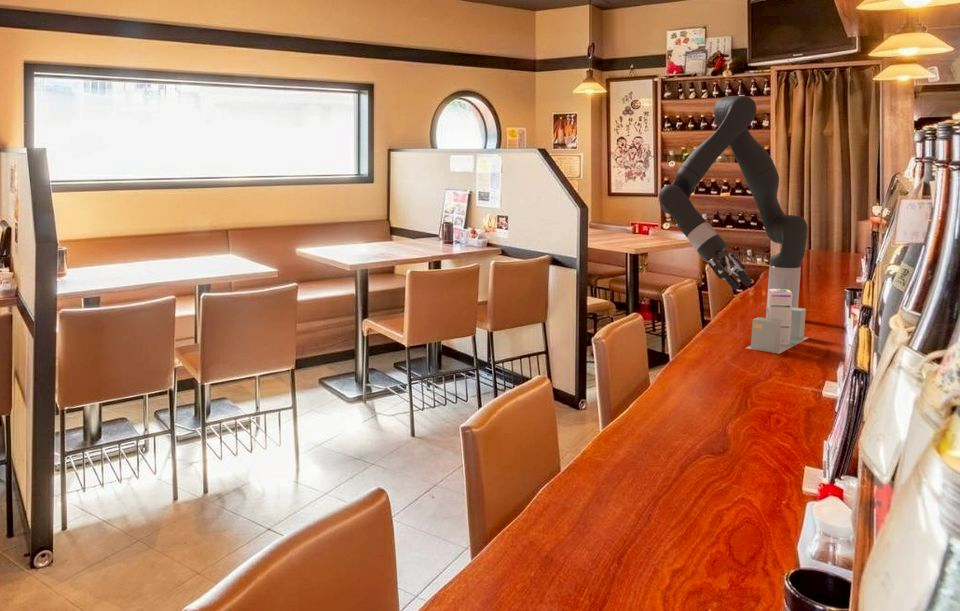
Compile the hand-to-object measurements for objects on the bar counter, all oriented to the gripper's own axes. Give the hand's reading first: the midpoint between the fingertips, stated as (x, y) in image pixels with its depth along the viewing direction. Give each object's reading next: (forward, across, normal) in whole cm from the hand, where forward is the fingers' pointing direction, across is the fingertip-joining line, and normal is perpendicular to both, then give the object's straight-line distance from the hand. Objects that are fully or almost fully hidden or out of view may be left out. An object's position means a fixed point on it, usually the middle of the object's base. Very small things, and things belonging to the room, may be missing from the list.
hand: (743, 286), depth 209 cm
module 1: (+18, -10, +3) cm, 20 cm away
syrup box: (+18, 0, +3) cm, 18 cm away
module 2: (+18, +9, +2) cm, 20 cm away
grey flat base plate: (+19, 0, +4) cm, 19 cm away
